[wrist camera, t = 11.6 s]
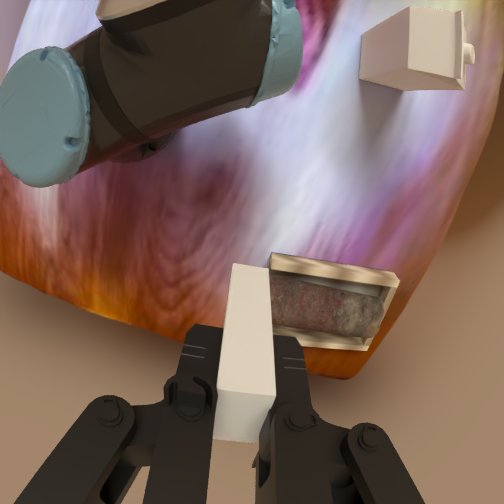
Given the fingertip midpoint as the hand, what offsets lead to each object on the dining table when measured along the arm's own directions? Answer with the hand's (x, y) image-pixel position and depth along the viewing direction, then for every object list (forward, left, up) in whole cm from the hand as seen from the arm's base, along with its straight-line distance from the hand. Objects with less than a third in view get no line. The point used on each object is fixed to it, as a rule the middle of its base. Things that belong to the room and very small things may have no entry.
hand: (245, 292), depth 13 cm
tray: (+16, -20, -30) cm, 40 cm away
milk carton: (+15, +19, -31) cm, 39 cm away
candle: (+4, -18, -26) cm, 32 cm away
